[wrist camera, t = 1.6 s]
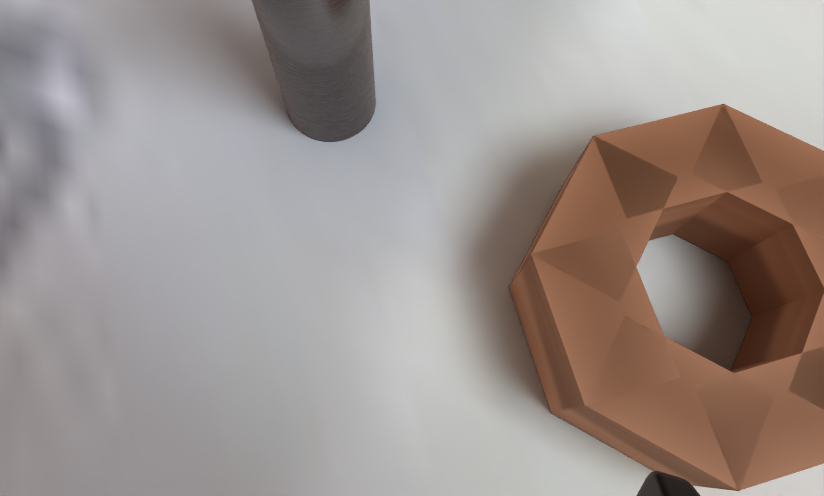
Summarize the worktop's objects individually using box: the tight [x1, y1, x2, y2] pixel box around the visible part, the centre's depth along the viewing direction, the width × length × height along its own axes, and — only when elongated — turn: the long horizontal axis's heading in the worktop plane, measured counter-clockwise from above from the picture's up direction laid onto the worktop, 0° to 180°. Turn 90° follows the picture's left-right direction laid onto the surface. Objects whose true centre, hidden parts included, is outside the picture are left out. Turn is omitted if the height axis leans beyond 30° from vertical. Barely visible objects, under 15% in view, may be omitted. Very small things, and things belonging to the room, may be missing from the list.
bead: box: [509, 104, 824, 491], centre depth 21 cm, size 11×11×4 cm
